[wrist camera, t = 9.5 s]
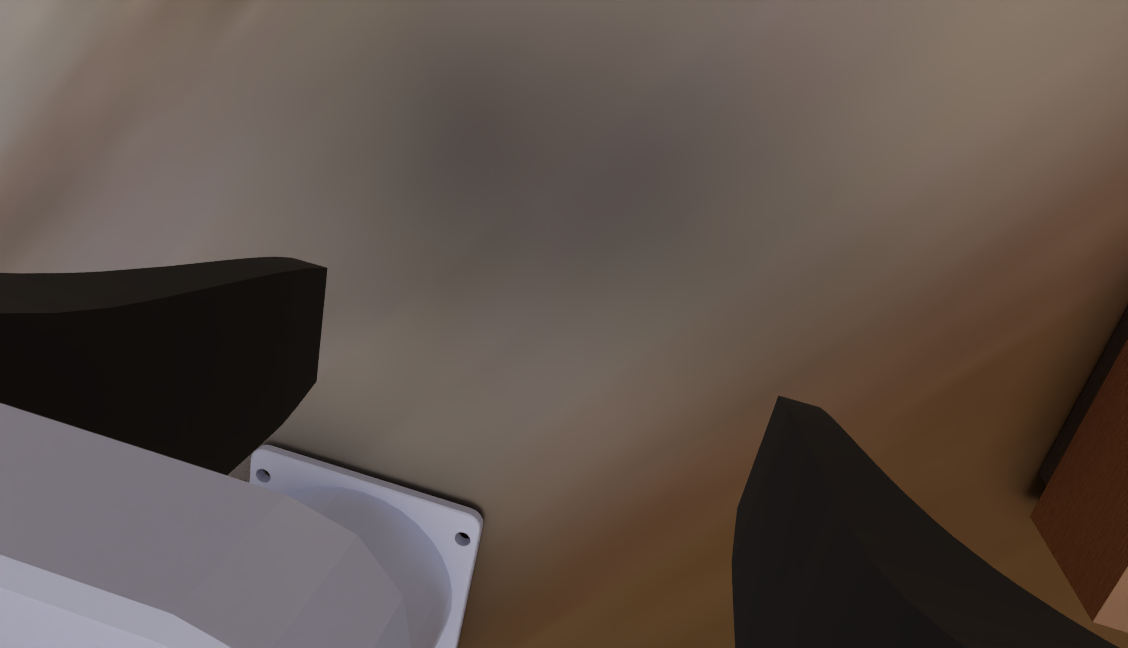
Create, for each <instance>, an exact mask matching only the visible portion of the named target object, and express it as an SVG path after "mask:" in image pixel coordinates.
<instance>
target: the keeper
mask: <svg viewBox="0 0 1128 648" xmlns="http://www.w3.org/2000/svg"><path fill="white" fill-rule="evenodd" d="M1127 339H1128V308H1127V310H1126V312H1125V314H1124V316H1123V318H1122V319H1121V321H1120V323H1119V325H1118V327H1117V329H1116V330H1115V332H1114V334H1113V336H1112V338H1111V340H1110V342H1109V343H1108V345H1107V347H1106V349H1105V351H1104V353H1103V355H1102V356H1101V358H1100V360H1099V362H1098V364H1097V366H1096V367H1095V369H1094V371H1093V373H1092V375H1091V377H1090V379H1089V380H1088V382H1087V384H1086V386H1085V388H1084V390H1083V392H1082V393H1081V395H1080V397H1079V399H1078V401H1077V403H1076V404H1075V406H1074V408H1073V410H1072V412H1071V414H1070V416H1069V417H1068V419H1067V421H1066V423H1065V425H1064V427H1063V429H1062V430H1061V432H1060V434H1059V436H1058V438H1057V440H1056V441H1055V443H1054V445H1053V447H1052V449H1051V451H1050V453H1049V454H1048V456H1047V458H1046V460H1045V462H1044V464H1043V465H1042V467H1041V469H1040V471H1039V475H1040V476H1041V478H1042V479H1043V481H1044V482H1045V484H1046V485H1047V484H1048V483H1049V481H1050V479H1051V477H1052V475H1053V473H1054V472H1055V470H1056V468H1057V466H1058V464H1059V463H1060V461H1061V459H1062V457H1063V455H1064V453H1065V452H1066V450H1067V448H1068V446H1069V444H1070V443H1071V441H1072V439H1073V437H1074V435H1075V433H1076V432H1077V430H1078V428H1079V426H1080V424H1081V423H1082V421H1083V419H1084V417H1085V415H1086V413H1087V412H1088V410H1089V408H1090V406H1091V404H1092V403H1093V401H1094V399H1095V397H1096V395H1097V393H1098V392H1099V390H1100V388H1101V386H1102V384H1103V383H1104V381H1105V379H1106V377H1107V375H1108V373H1109V372H1110V370H1111V368H1112V366H1113V364H1114V363H1115V361H1116V359H1117V357H1118V355H1119V353H1120V352H1121V350H1122V348H1123V346H1124V344H1125V343H1126V341H1127Z"/></svg>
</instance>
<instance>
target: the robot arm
mask: <svg viewBox="0 0 1128 648" xmlns="http://www.w3.org/2000/svg"><path fill="white" fill-rule="evenodd" d="M326 277H327V268H326V267H322V266H319V265H315V264H312V263H308V262H305V261H301V260H298V259H294V258H287V257H259V258H245V259H234V260H224V261H214V262H205V263H195V264H186V265H176V266H166V267H154V268H141V269H129V270H116V271H104V272H85V273H24V274H21V273H0V648H457V647H458V642H459V637H460V633H461V628H462V623H463V618H464V614H465V609H466V604H467V599H468V595H469V590H470V585H471V580H472V575H473V571H474V566H475V561H476V556H477V552H478V547H479V542H480V537H481V533H482V528H483V519H482V517H481V515H480V514H479V513H478V512H477V511H476V510H474V509H472V508H469V507H466V506H463V505H460V504H456V503H453V502H450V501H447V500H444V499H441V498H437V497H434V496H431V495H428V494H425V493H421V492H418V491H415V490H412V489H409V488H405V487H402V486H399V485H396V484H393V483H389V482H386V481H383V480H380V479H377V478H373V477H370V476H367V475H364V474H361V473H358V472H354V471H351V470H348V469H345V468H342V467H338V466H335V465H332V464H329V463H326V462H322V461H319V460H316V459H313V458H310V457H306V456H303V455H300V454H297V453H294V452H291V451H287V450H284V449H281V448H278V447H275V446H271V445H262V446H260V445H261V444H262V443H263V442H264V441H265V440H266V439H267V438H268V437H269V436H271V435H272V434H273V433H274V432H275V431H276V430H277V429H278V428H279V427H280V426H281V425H282V424H283V423H284V422H285V420H286V419H287V418H288V417H289V416H290V414H291V413H292V412H293V411H294V410H295V408H296V407H297V406H298V405H299V404H300V402H301V401H302V400H303V398H304V397H305V396H306V394H307V393H308V392H309V390H310V389H311V388H312V386H313V385H314V384H315V383H316V380H317V370H318V360H319V349H320V339H321V329H322V318H323V308H324V298H325V287H326ZM259 446H260V447H259ZM258 447H259V448H258ZM257 448H258V449H257ZM255 449H257V450H256V451H255V452H254V453H252V452H253V451H254V450H255ZM251 453H252V456H251V466H250V482H249V483H248V482H245V481H242V480H239V479H236V478H233V477H230V476H227V475H228V474H229V473H230V472H231V471H232V470H233V469H235V468H236V467H237V466H238V465H239V464H240V463H241V462H242V461H243V460H245V459H246V458H247V457H248V456H249V455H250V454H251ZM263 469H264V470H266V471H268V473H269V474H270V476H268V475H266V474H265V473H264V471H263ZM459 532H463V533H465V534H467V535H468V536H469V537H470V539H466V538H463V537H462V536H461V535H460V534H459ZM732 585H733V609H734V630H735V648H1119V647H1117V646H1115V645H1113V644H1112V643H1110V642H1108V641H1106V640H1104V639H1103V638H1101V637H1099V636H1098V635H1096V634H1094V633H1093V632H1091V631H1089V630H1088V629H1086V628H1084V627H1083V626H1081V625H1079V624H1078V623H1076V622H1074V621H1072V620H1071V619H1069V618H1068V617H1066V616H1064V615H1063V614H1061V613H1060V612H1058V611H1057V610H1055V609H1054V608H1052V607H1051V606H1049V605H1047V604H1046V603H1044V602H1043V601H1041V600H1040V599H1038V598H1037V597H1035V596H1034V595H1032V594H1031V593H1029V592H1028V591H1026V590H1025V589H1023V588H1022V587H1020V586H1019V585H1017V584H1016V583H1014V582H1013V581H1011V580H1010V579H1009V578H1007V577H1006V576H1004V575H1003V574H1001V573H1000V572H999V571H997V570H996V569H994V568H993V567H992V566H990V565H989V564H988V563H987V562H985V561H984V560H983V559H981V558H980V557H979V556H978V555H976V554H975V553H974V552H972V551H971V550H970V549H969V548H967V547H966V546H965V545H963V544H962V543H961V542H960V541H958V540H957V539H956V538H954V537H953V536H952V535H951V534H950V533H948V532H947V531H946V530H945V529H944V528H943V527H941V526H940V525H939V524H938V523H937V522H936V521H934V520H933V519H932V518H931V517H930V516H929V515H928V514H927V513H926V512H925V511H924V510H922V509H921V508H920V507H919V506H918V505H917V504H916V503H915V502H914V501H913V500H912V499H910V498H909V497H908V496H907V495H906V494H905V493H904V492H903V491H902V490H901V489H900V488H899V487H898V486H897V485H896V484H895V483H894V482H893V481H892V480H891V479H890V478H889V477H888V476H887V475H886V474H885V473H884V472H883V471H882V470H881V469H880V468H879V467H878V466H877V465H876V464H875V463H874V462H873V460H872V459H871V458H870V457H869V456H868V455H867V454H866V453H865V452H864V451H863V450H862V449H861V448H860V447H859V446H858V445H857V443H856V442H855V441H854V440H853V439H852V438H851V437H850V436H849V435H848V434H847V433H846V432H845V431H844V430H843V428H842V427H841V426H840V425H839V424H838V423H837V422H836V421H835V420H834V419H833V418H832V417H831V416H830V415H829V414H828V413H826V412H825V411H824V410H823V409H821V408H820V407H817V406H813V405H810V404H806V403H803V402H799V401H795V400H792V399H788V398H785V397H781V396H778V399H777V401H776V404H775V407H774V409H773V412H772V415H771V418H770V420H769V423H768V426H767V429H766V431H765V434H764V437H763V440H762V442H761V445H760V448H759V450H758V453H757V456H756V459H755V461H754V464H753V467H752V470H751V472H750V475H749V478H748V481H747V483H746V486H745V489H744V492H743V494H742V497H741V500H740V502H739V505H738V508H737V516H736V525H735V534H734V544H733V555H732Z"/></svg>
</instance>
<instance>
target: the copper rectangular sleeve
mask: <svg viewBox="0 0 1128 648" xmlns="http://www.w3.org/2000/svg"><path fill="white" fill-rule="evenodd" d="M1030 517H1031V519H1032V520H1033V522H1034V524H1035V526H1036V527H1037V529H1038V531H1039V532H1040V534H1041V536H1042V537H1043V539H1044V541H1045V542H1046V544H1047V546H1048V547H1049V549H1050V551H1051V552H1052V554H1053V556H1054V558H1055V559H1056V561H1057V563H1058V564H1059V566H1060V568H1061V569H1062V571H1063V573H1064V574H1065V576H1066V578H1067V579H1068V581H1069V583H1070V584H1071V586H1072V588H1073V590H1074V591H1075V593H1076V595H1077V596H1078V598H1079V600H1080V601H1081V603H1082V605H1083V606H1084V608H1085V610H1086V611H1087V613H1088V615H1089V616H1090V618H1091V620H1092V621H1093V622H1095V623H1098V624H1101V625H1105V626H1108V627H1111V628H1114V629H1118V630H1121V631H1124V632H1128V339H1127V341H1126V343H1125V344H1124V346H1123V348H1122V350H1121V352H1120V353H1119V355H1118V357H1117V359H1116V361H1115V363H1114V364H1113V366H1112V368H1111V370H1110V372H1109V373H1108V375H1107V377H1106V379H1105V381H1104V383H1103V384H1102V386H1101V388H1100V390H1099V392H1098V393H1097V395H1096V397H1095V399H1094V401H1093V403H1092V404H1091V406H1090V408H1089V410H1088V412H1087V413H1086V415H1085V417H1084V419H1083V421H1082V423H1081V424H1080V426H1079V428H1078V430H1077V432H1076V433H1075V435H1074V437H1073V439H1072V441H1071V443H1070V444H1069V446H1068V448H1067V450H1066V452H1065V453H1064V455H1063V457H1062V459H1061V461H1060V463H1059V464H1058V466H1057V468H1056V470H1055V472H1054V473H1053V475H1052V477H1051V479H1050V481H1049V483H1048V484H1047V486H1046V488H1045V490H1044V492H1043V493H1042V495H1041V497H1040V499H1039V501H1038V503H1037V504H1036V506H1035V508H1034V510H1033V512H1032V513H1031V515H1030Z"/></svg>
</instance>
